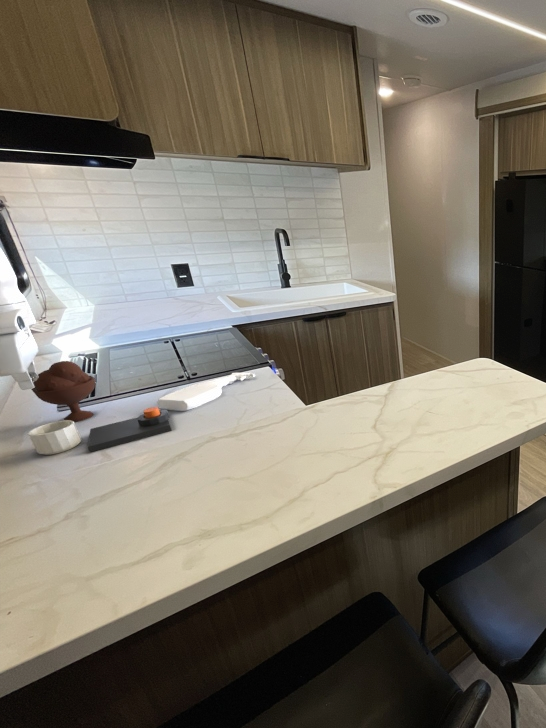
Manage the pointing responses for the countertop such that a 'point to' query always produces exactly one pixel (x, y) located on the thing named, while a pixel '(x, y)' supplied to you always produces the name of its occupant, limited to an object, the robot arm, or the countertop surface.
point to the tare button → (151, 412)
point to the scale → (128, 431)
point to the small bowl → (55, 437)
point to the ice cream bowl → (65, 388)
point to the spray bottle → (198, 393)
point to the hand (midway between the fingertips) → (30, 384)
